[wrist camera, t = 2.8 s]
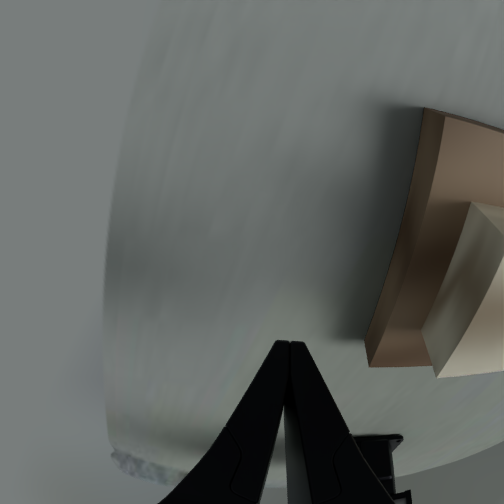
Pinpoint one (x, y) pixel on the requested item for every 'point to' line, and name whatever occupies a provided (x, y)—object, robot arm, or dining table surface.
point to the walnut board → (433, 230)
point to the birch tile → (471, 300)
